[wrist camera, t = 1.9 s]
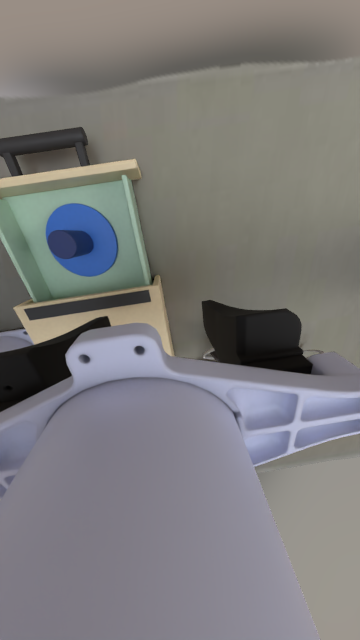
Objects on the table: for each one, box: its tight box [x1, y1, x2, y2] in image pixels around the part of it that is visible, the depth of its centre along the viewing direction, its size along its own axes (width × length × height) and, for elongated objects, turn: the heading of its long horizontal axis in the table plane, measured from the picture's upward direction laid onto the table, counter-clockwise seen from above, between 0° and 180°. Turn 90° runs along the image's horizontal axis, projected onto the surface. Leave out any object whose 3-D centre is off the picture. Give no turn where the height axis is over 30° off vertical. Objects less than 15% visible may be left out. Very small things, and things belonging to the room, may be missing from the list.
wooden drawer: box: [0, 127, 153, 303], centre depth 18 cm, size 14×14×3 cm
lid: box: [46, 203, 118, 277], centre depth 17 cm, size 7×7×5 cm
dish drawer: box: [13, 275, 175, 357], centre depth 22 cm, size 14×12×5 cm
